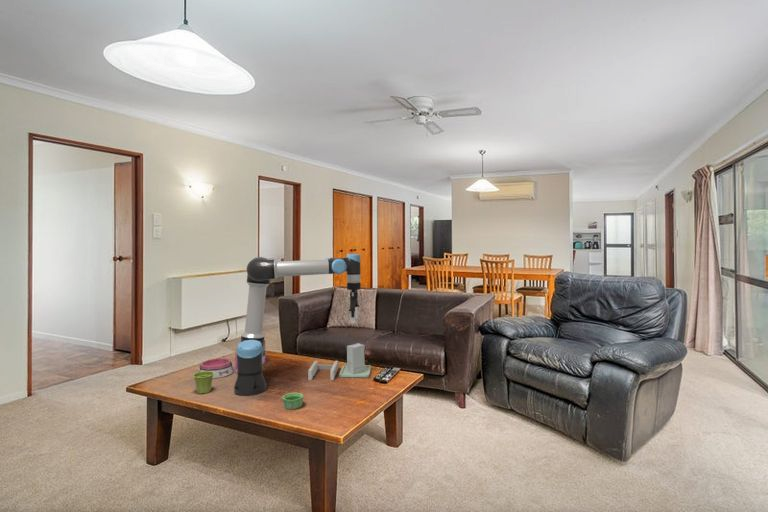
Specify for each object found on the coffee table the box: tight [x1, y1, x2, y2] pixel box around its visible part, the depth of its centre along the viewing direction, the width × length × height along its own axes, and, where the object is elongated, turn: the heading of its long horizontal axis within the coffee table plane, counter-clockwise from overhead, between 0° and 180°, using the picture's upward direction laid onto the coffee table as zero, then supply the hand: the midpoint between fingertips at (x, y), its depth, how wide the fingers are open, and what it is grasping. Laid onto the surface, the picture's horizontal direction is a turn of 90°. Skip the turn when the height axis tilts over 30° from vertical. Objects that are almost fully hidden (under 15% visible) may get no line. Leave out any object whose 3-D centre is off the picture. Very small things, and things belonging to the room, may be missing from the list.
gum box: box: [234, 339, 267, 374], centre depth 243 cm, size 24×8×14 cm, turn 171°
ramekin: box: [281, 392, 304, 410], centre depth 185 cm, size 9×9×4 cm
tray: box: [338, 364, 372, 379], centre depth 231 cm, size 18×16×2 cm
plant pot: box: [192, 371, 214, 395], centre depth 204 cm, size 9×9×9 cm
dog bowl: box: [198, 357, 235, 380], centre depth 232 cm, size 18×19×7 cm
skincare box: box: [346, 342, 366, 374], centre depth 231 cm, size 8×6×15 cm
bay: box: [307, 360, 340, 381], centre depth 229 cm, size 20×13×5 cm
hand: (354, 320), depth 230 cm, fingers open, 13 cm apart
